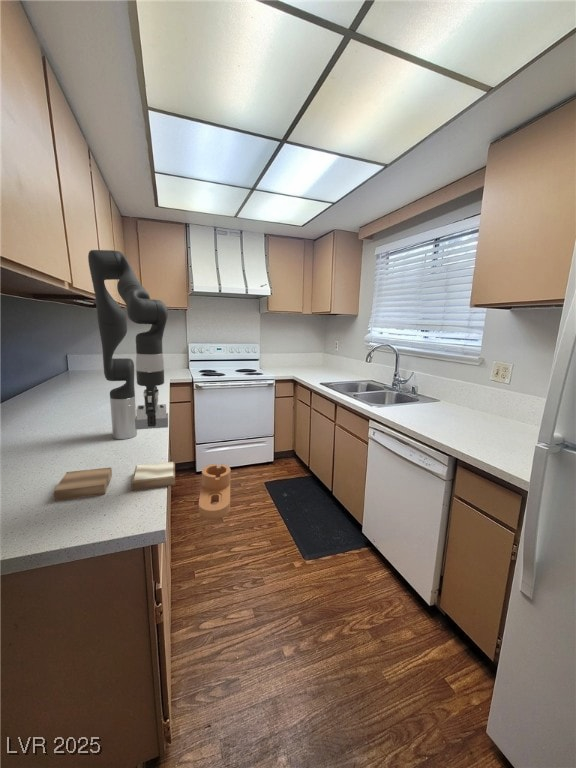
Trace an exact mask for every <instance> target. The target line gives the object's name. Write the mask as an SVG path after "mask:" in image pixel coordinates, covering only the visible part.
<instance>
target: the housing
mask: <svg viewBox="0 0 576 768" xmlns="http://www.w3.org/2000/svg"><path fill="white" fill-rule="evenodd" d="M149 410H153V408H152V407H151V408H149ZM145 412H146V407H145V404H139V405H137V406H136V418H135V430H137V431H138V430H150V429H164V428H166V429H167V428H169V413H168V412H167V403H163V404H157V406H156V426H153V427H149V426H148V421H147V415H146V413H145Z"/></svg>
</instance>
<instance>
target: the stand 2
mask: <svg viewBox="0 0 576 768" xmlns="http://www.w3.org/2000/svg"><path fill="white" fill-rule="evenodd" d="M171 486H176V461H166V462H165V461H164V462H158V463H157V462H156V463H147V464H139V465H135V467H134V471H133V475H132V480H131V491H132V492H134V491H140V490H141V491H142V490H150V489H156V488H157V489H158V488H164V487H171Z"/></svg>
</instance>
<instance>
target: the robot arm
mask: <svg viewBox="0 0 576 768" xmlns="http://www.w3.org/2000/svg"><path fill="white" fill-rule="evenodd" d="M87 258H88V259H87V261H88V267H89V273H90V276H91V282H92V286H93V292H94V298H95V305H96V313H97V314H96V316H97V322H98V330H99V335H100V341H101V349H102V362H103V363H102V364H103V374H104V378H105V379H106V380H107V381H109V382H124V381H125V383H124V384H122V385H121V386H118V387H115V388H113V389H111V390H110V391H109V399H110V400H109V403H110V415H111V418H110V419H111V430H112V431H111V433H112V438H113V439H114V440H115V439H116V440H126V439H132V438H134V437H136V436H137V435H138V429H137V430H135V418H136V416H137V414H136V409H137V406H136V393H135V392H136V391H135V390H136V389H135V375H136V384H137V385H138V386H140V387H145V388H146V389H143V397H144V398H143V399H144V405H145V407H146V412H145V413H146V415H147V421H148V426H149V427H153V426H156V406H157V405H159V404H158V403H159V388H158V386H162V385H163V384H165V362H164V356H163V355H164V354H163V337H164V332H165V328H166V324H167V320H168V315H169V312H168V308H167V305H166V303H165V302H164V301H162V300H160V299H151V297H150V294H149V292H148V291H147V290H146V289H145V287H144V286H143V285H142V284H141V282H140V281H139V280H138V278H137V276H136V274H135V273H134V272H135V271H134V270H133V268H132V266H131V264H130V262H129V260H128V259H127V257H126V256H125V254H124V253H123V252H121V251H118V250H111V249H106V250H105V249H90V250H89V252H88V256H87ZM107 280H108V281H110V280H111V281H112V280H118V282H117V287H116V288H117V292H118V294H119V296H120V298H121V299H122V301H123V302H124V303H125V306H126V312H127V315H126V312H125V311H124V309H123V308H122V306H120V305H119V303H118V302H117V301H116V300H115V299H114V298H113V296H112V294H110V293H109V291H108V289H107V287H106V283H105V281H107ZM127 316H128V319H129V321H130V322H132V323H135V324H137V325H151V327H150V328H149V330H147V331H143V332H139V333H137V334H136V335H135V351H136V356H135V363H134V360H133V359H131V358H114V357H113V355H114V353H115V351H116V350H117V347H118V346H119V345H120V344H121V343H122V341H124V338H125V337H126V334H127V332H128V323H127V322H128V321H127ZM135 367H136V368H135ZM135 373H136V374H135ZM151 407H152V408H153V410H149V408H151Z"/></svg>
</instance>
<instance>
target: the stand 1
mask: <svg viewBox="0 0 576 768" xmlns="http://www.w3.org/2000/svg"><path fill="white" fill-rule="evenodd" d="M112 477H113V472H112V466H110V467H103V468H92V469H85V470H83V469H82V470H74V471H66V473H65V474H64V476H63V477H62V478H61V480H60V481H59V482H58V484H57V485H56V486H55V489H54V490H53V496H54V501H56V502H57V501H64V500H70V499H79V498H87V497H93V496H102V495H103V496H104V495H106V493H107V490H108V487H109V485H110V482H111V479H112Z"/></svg>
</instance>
